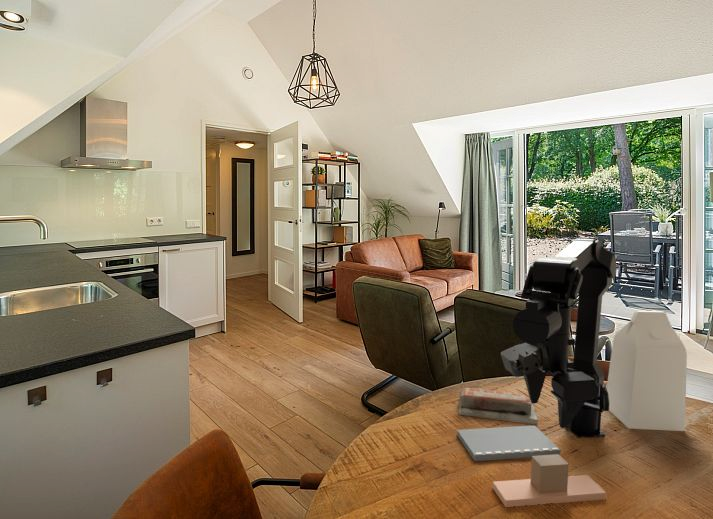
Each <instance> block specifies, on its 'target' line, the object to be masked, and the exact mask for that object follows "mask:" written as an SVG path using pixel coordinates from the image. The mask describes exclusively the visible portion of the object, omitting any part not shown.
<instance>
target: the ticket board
mask: <svg viewBox="0 0 713 519" xmlns="http://www.w3.org/2000/svg"><path fill="white" fill-rule="evenodd" d="M535 425H536V424H533V425H525V426H524V425H520V426H518V425H517V426H501V427H500V426H499V427H485V428H482V427H481V428H468V429H457V430H456V436H457V437H458V438H459V440H460V442H461V444H463V446H464V448H465V449H466V451H467V452H468V454H469V455H470V457H471V458H472V460H473V461H474V462H483V461H497V460H499V461H500V460H513V459H514V460H515V459H528V458H529V459H530V458H531V459H532V456H539V455H554V454H559V455H560V456H561V451H562V449H560V447H558V446H557V444H555V443H554V442H553V441H552V440H551V439H550V438H549V437H548V436H546V435H545V434H544V433H543V432H542V431H541V430H540V429H539V428H538V427H537V426H535Z"/></svg>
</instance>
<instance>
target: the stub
mask: <svg viewBox="0 0 713 519" xmlns="http://www.w3.org/2000/svg"><path fill="white" fill-rule="evenodd" d="M530 462H531V465H530V466H531V467H530V478H528V479H527V478H526V479H525V478H524V479H513V480H512V479H511V480H510V479H509V480H496V481H492V489H493V491H494V492H495V494H496V495H497V496H498V498H499V500H500V501H501V502H502V504H503V506H504V507H505V508H512V507H513V508H514V506H515V507H525V505H527V506H538V504H540V505H549V503H553V504H562V503H563V502H565V503H575V502H576V503H577V502H587V501H590V502H591V501H601V500H602V501H603V500H607V491H605V489H604V488H602V487H601V486H600V485H599V484H598V483H597V482H595V481H594V480H593V479H592V478H591V476H589V475H588V474H581V475H569V469H570V466H569V462H567V461H566V460H565V459H564V458H563V457H562V456H561V454H560V455H559V454H554V455H539V456H532V457H531V460H530ZM547 503H548V504H547ZM563 504H564V503H563Z"/></svg>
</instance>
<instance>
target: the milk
mask: <svg viewBox="0 0 713 519" xmlns="http://www.w3.org/2000/svg"><path fill="white" fill-rule="evenodd" d="M687 352H688V351H687V349H686V346H685V344H684V343H683V341H682V339H681V338H680V336H679V335H678V334H677V331H676V330H675V329H674V327H673V326H672V324H671V323H670V320H669V318H668V316H667V314H666V311H662V310H635V311H634V313H633V315H632V317H631V318H630V320H629V322H628V323H627V324H625V325H624V326H623V327H621V328H620V329H619V330H618V331H617V332H616V333H615V335H614V336H613V341H612V348H611V353H610V362H609V366H608V367H609V368H608V375H607V383H606V388H607V391H608V395H609V402H610V404H609V411H608V412H610V413H611V414H612V415H614V417H615V418H617V419H618V420H619V421H620V422H621V423H622V424H623V425H624V426H625V427H627V429H629V430H630V429H636V430H653V431H656V430H658V431H672V432H673V431H675V432H676V431H677V432H685V431H686V402H687V400H686V398H687V397H686V396H687V394H686V393H687V360H688V359H687V358H688V357H687V356H688V354H687Z"/></svg>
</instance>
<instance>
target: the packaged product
mask: <svg viewBox="0 0 713 519" xmlns="http://www.w3.org/2000/svg"><path fill="white" fill-rule="evenodd" d="M533 404H534V403H531V401H530V397H528V395H526V394H520V393H514V392H512V393H511V392H506V391H500V390H499V391H497V390H491V389H490V390H489V389H482V388H473V387H462V389H461V391H459V406H458V407H459V408H458V414H459V415H460V416H461V415H462V416H468V417H477V418H483V419H490V420H499V421H506V422H514V423H522V424H530V425H531V424H532V425H538V421H539V420H538V417H537V416H538V415H537V413H536V410H535V407H534V405H533Z"/></svg>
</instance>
